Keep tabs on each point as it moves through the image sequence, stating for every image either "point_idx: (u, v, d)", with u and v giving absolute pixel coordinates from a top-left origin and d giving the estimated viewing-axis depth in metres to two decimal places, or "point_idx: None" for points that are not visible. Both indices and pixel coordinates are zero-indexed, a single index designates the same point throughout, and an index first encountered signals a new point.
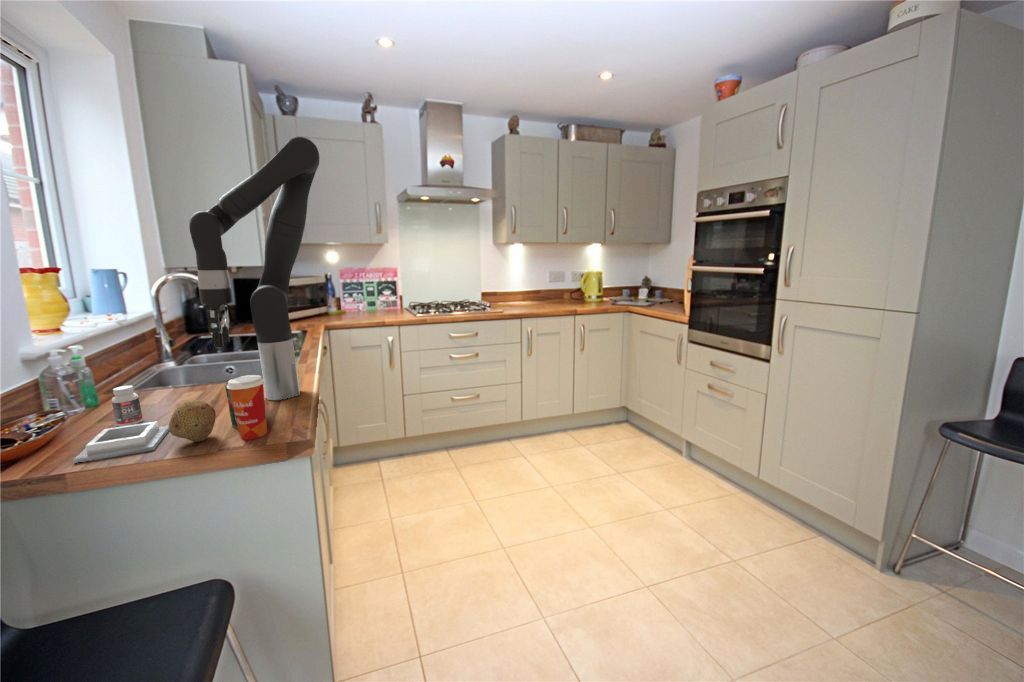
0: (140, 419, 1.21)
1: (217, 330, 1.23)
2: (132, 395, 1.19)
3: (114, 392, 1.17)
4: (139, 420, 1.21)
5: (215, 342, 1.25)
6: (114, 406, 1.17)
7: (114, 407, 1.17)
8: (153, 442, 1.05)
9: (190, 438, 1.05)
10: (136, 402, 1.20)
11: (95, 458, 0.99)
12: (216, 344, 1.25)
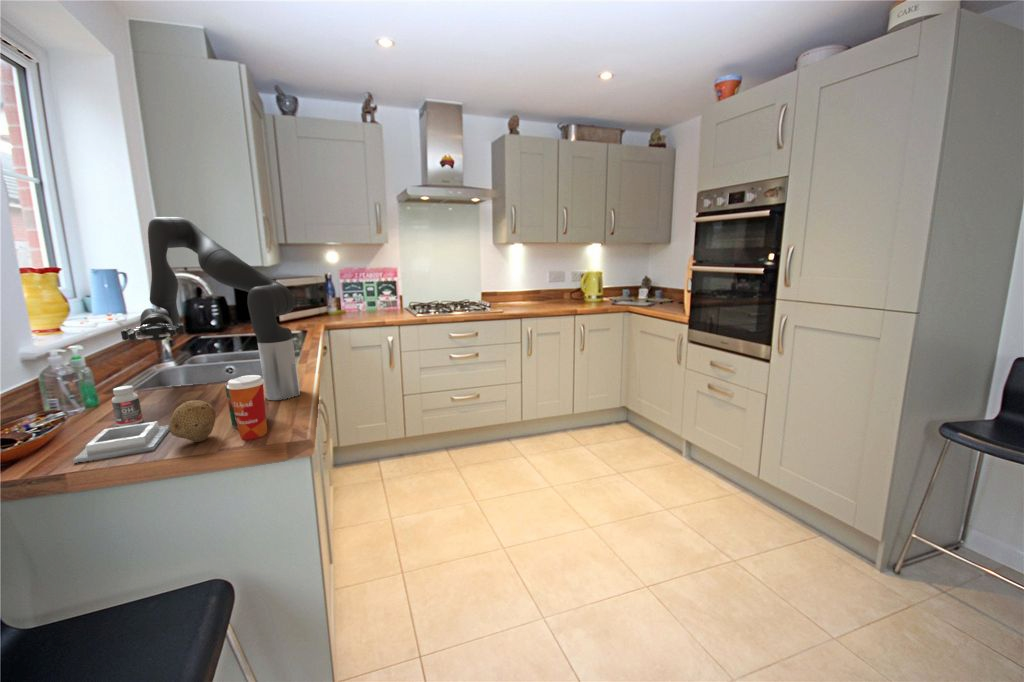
0: (140, 419, 1.21)
1: (121, 332, 1.27)
2: (132, 395, 1.19)
3: (114, 392, 1.17)
4: (139, 420, 1.21)
5: None
6: (114, 406, 1.17)
7: (114, 407, 1.17)
8: (153, 442, 1.05)
9: (190, 438, 1.05)
10: (136, 402, 1.20)
11: (95, 458, 0.99)
12: (128, 337, 1.25)
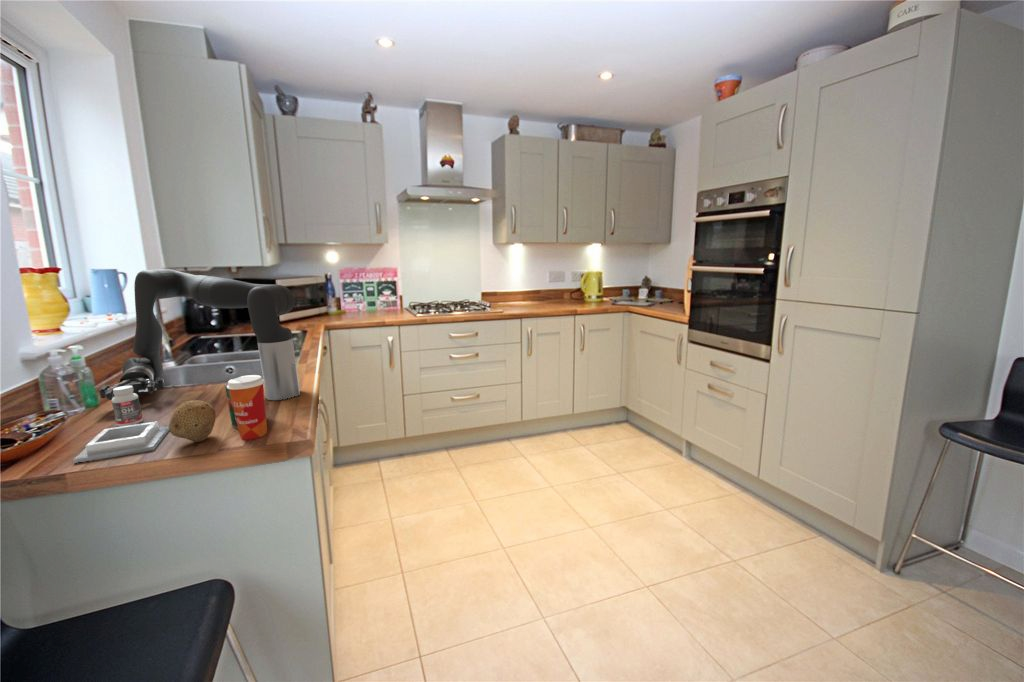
0: (140, 419, 1.21)
1: (99, 391, 1.27)
2: (132, 395, 1.19)
3: (114, 392, 1.17)
4: (139, 420, 1.21)
5: None
6: (114, 406, 1.17)
7: (114, 407, 1.17)
8: (153, 442, 1.05)
9: (190, 438, 1.05)
10: (136, 402, 1.20)
11: (95, 458, 0.99)
12: (106, 397, 1.25)
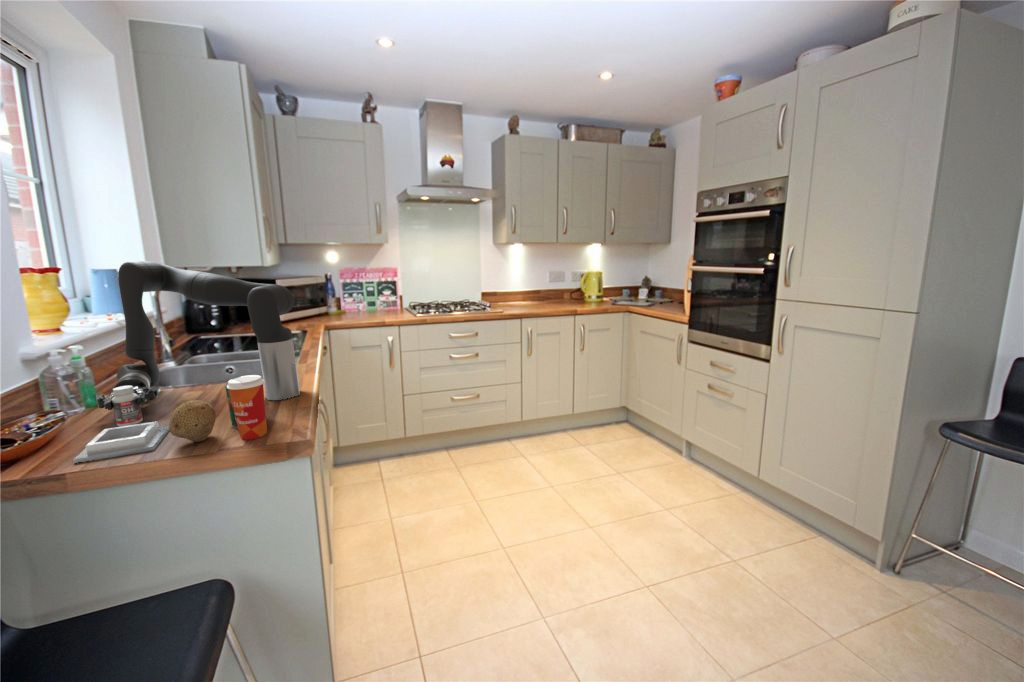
0: (140, 419, 1.21)
1: (97, 400, 1.18)
2: (132, 395, 1.19)
3: (114, 392, 1.17)
4: (139, 420, 1.21)
5: (105, 407, 1.17)
6: (114, 406, 1.17)
7: (114, 407, 1.17)
8: (153, 442, 1.05)
9: (190, 438, 1.05)
10: (136, 402, 1.20)
11: (95, 458, 0.99)
12: (105, 407, 1.16)
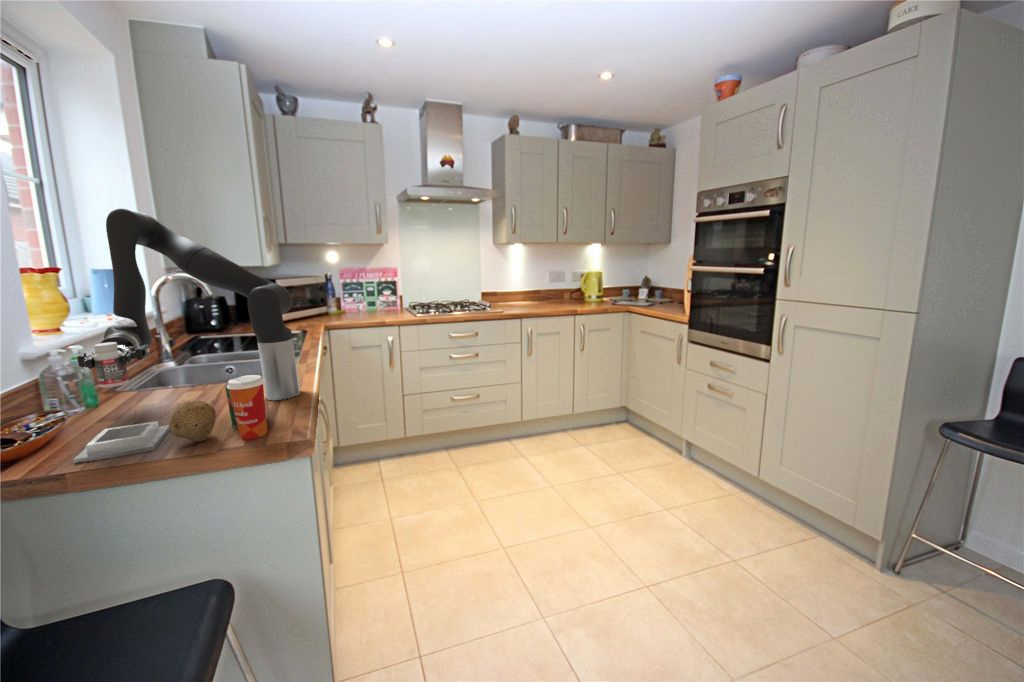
0: (125, 380, 1.08)
1: (77, 358, 1.05)
2: (116, 352, 1.06)
3: (95, 348, 1.04)
4: (124, 381, 1.07)
5: None
6: (96, 364, 1.04)
7: (96, 365, 1.04)
8: (153, 442, 1.05)
9: (190, 438, 1.05)
10: (121, 360, 1.06)
11: (95, 458, 0.99)
12: (85, 365, 1.03)
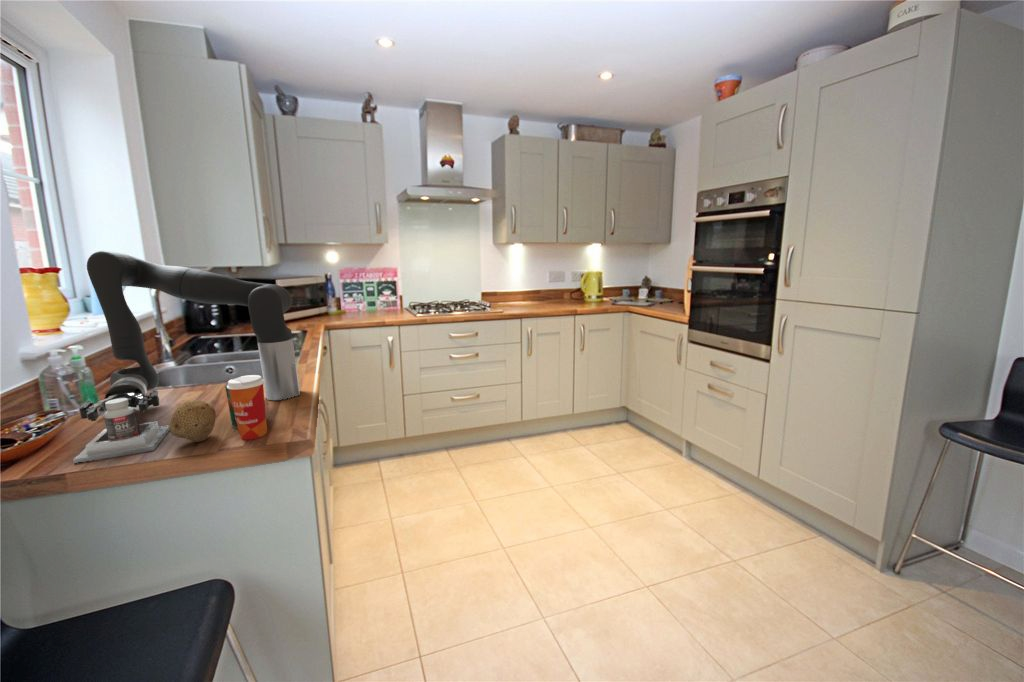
0: None
1: (79, 410, 1.04)
2: (127, 409, 1.05)
3: (106, 406, 1.03)
4: None
5: (88, 417, 1.02)
6: (106, 422, 1.03)
7: (106, 423, 1.04)
8: (153, 442, 1.05)
9: (190, 438, 1.05)
10: (132, 417, 1.06)
11: (95, 458, 0.99)
12: (88, 417, 1.02)
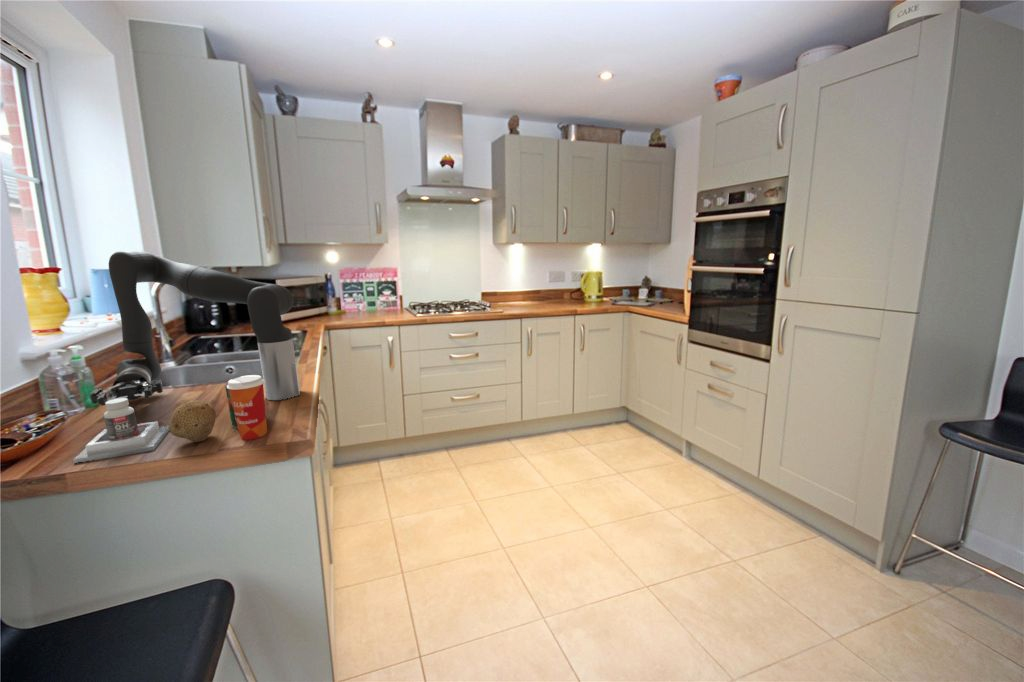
0: None
1: (90, 395, 1.15)
2: (127, 409, 1.05)
3: (106, 406, 1.03)
4: None
5: None
6: (106, 422, 1.03)
7: (106, 423, 1.04)
8: (153, 442, 1.05)
9: (190, 438, 1.05)
10: (132, 417, 1.06)
11: (95, 458, 0.99)
12: (98, 402, 1.12)
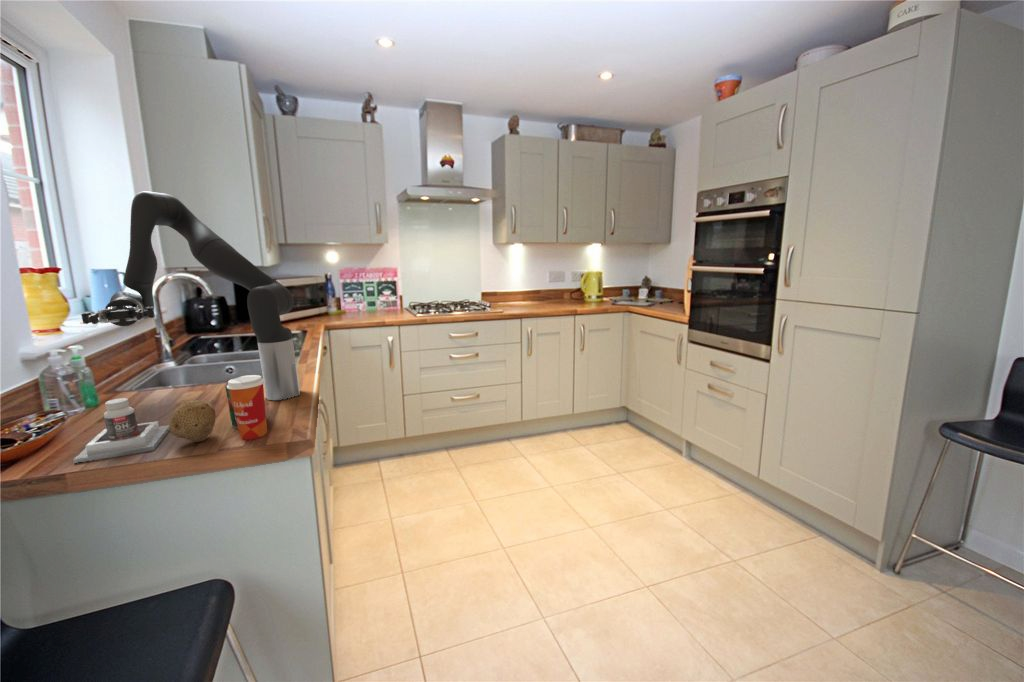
0: None
1: (81, 315, 1.14)
2: (127, 409, 1.05)
3: (106, 406, 1.03)
4: None
5: None
6: (106, 422, 1.03)
7: (106, 423, 1.04)
8: (153, 442, 1.05)
9: (190, 438, 1.05)
10: (132, 417, 1.06)
11: (95, 458, 0.99)
12: (89, 320, 1.12)
